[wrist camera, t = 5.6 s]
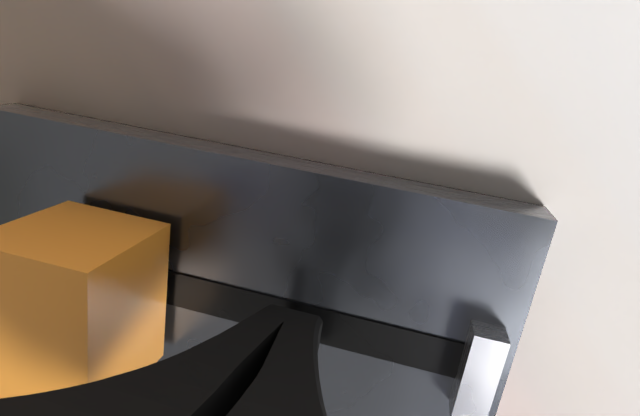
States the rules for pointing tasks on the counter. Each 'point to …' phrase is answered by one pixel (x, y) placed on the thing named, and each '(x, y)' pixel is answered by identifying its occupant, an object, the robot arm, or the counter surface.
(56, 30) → the counter surface
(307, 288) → the mixer panel
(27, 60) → the counter surface
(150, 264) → the fader
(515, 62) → the counter surface
